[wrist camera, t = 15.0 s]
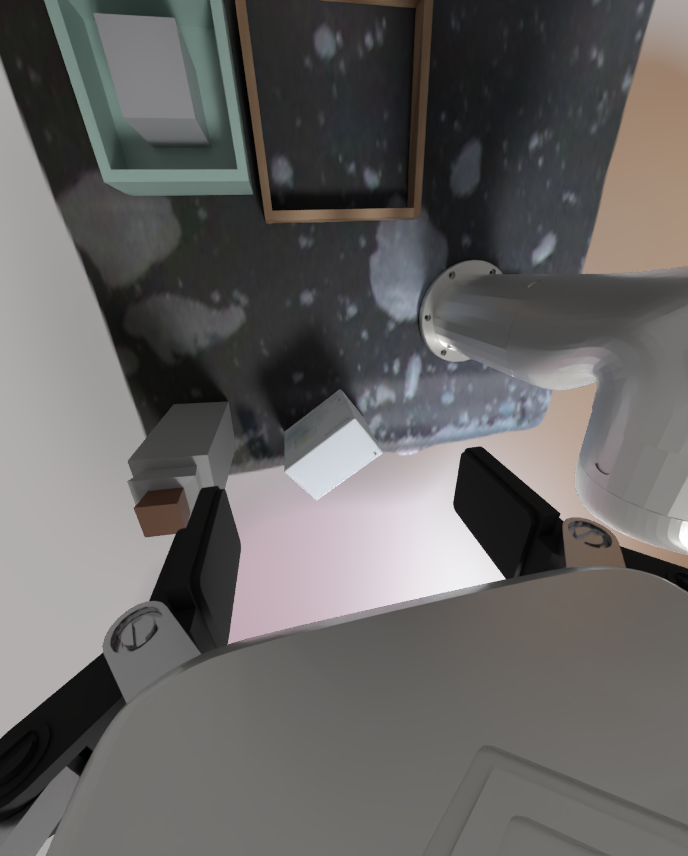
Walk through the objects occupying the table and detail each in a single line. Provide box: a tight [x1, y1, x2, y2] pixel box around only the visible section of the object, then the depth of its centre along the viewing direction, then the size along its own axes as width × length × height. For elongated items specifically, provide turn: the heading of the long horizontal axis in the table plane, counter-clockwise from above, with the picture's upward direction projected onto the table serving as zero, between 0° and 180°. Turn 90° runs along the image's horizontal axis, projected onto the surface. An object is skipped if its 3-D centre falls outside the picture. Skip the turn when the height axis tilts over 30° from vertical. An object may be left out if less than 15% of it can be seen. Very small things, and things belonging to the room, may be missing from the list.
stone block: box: [93, 13, 211, 148], centre depth 24 cm, size 5×5×6 cm
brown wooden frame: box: [235, 0, 433, 223], centre depth 29 cm, size 17×17×2 cm
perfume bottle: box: [128, 402, 236, 537], centre depth 33 cm, size 7×7×18 cm
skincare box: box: [284, 389, 383, 500], centre depth 40 cm, size 10×6×10 cm, turn 126°
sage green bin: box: [44, 0, 253, 196], centre depth 25 cm, size 12×12×5 cm
